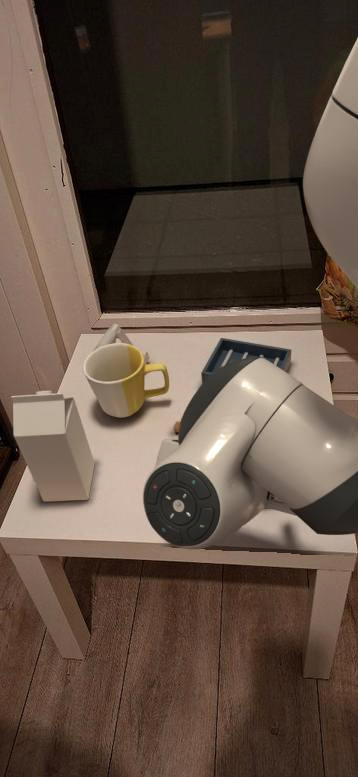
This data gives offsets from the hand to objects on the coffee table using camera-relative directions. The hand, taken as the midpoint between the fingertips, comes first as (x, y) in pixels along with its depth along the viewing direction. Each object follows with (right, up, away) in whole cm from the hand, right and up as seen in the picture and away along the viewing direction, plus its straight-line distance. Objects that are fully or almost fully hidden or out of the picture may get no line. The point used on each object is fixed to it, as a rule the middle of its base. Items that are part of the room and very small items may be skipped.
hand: (254, 473), depth 72 cm
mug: (-18, +8, +25) cm, 32 cm away
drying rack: (+3, +14, +28) cm, 31 cm away
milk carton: (-27, -4, +14) cm, 31 cm away
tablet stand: (-21, +14, +32) cm, 40 cm away
